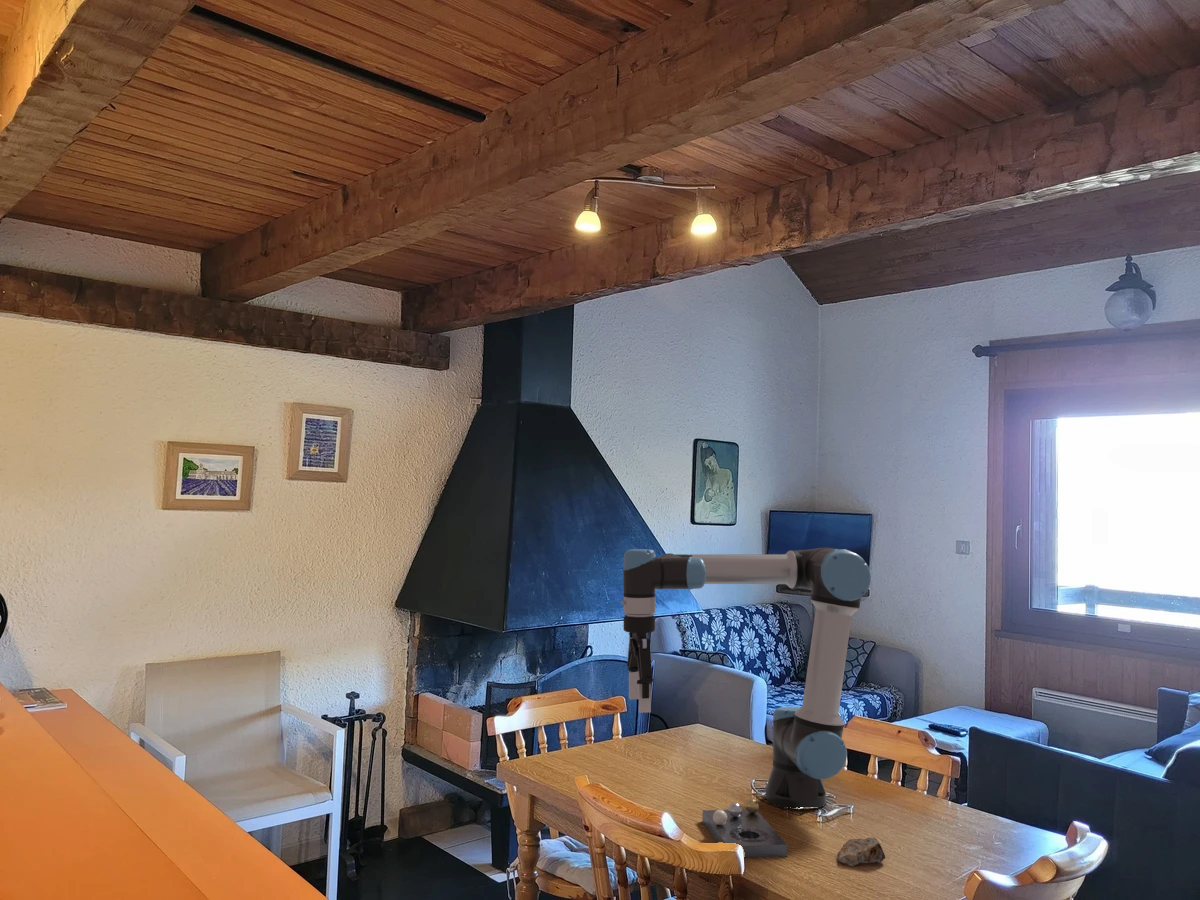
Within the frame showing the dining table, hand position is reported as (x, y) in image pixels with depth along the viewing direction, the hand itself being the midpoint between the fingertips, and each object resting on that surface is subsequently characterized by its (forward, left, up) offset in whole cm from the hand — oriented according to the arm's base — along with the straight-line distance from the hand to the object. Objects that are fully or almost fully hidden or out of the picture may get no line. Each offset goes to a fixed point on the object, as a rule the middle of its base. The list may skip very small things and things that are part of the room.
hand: (639, 705), depth 209 cm
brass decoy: (-27, +3, -23) cm, 35 cm away
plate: (-22, +11, -27) cm, 37 cm away
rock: (-44, +26, -27) cm, 58 cm away
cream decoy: (-17, +10, -23) cm, 30 cm away
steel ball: (-22, +5, -23) cm, 32 cm away
